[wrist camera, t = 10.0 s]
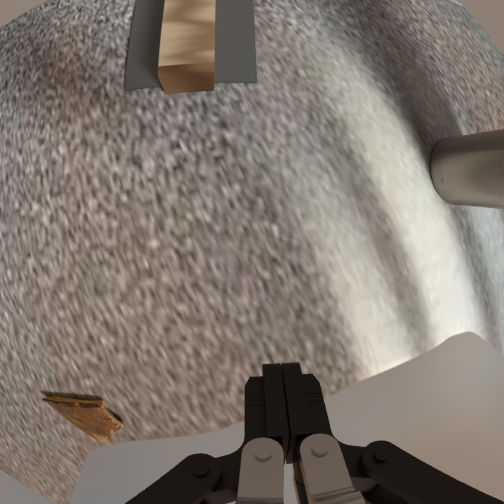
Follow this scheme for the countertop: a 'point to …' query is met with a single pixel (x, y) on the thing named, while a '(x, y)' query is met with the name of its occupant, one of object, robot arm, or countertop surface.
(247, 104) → the countertop surface
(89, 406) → the shard
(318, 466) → the robot arm
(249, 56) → the mat
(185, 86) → the maple block
